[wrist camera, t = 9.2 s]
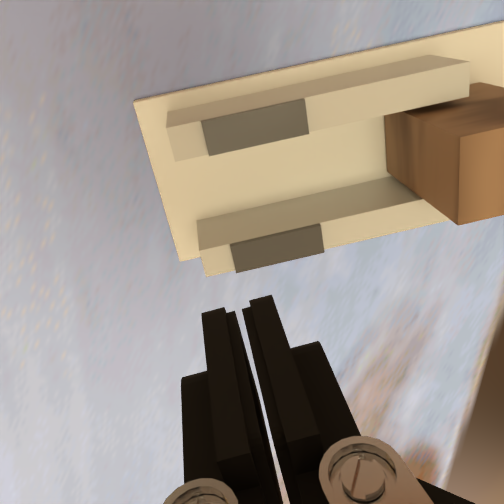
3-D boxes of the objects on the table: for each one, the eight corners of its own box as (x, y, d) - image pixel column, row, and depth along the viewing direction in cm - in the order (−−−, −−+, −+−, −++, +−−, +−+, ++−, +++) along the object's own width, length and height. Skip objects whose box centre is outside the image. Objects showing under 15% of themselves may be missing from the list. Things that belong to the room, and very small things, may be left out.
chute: (179, 255, 37) (180, 299, 31) (134, 100, 31) (125, 119, 26) (495, 182, 38) (551, 212, 32) (506, 19, 33) (575, 21, 27)
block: (387, 171, 35) (458, 225, 26) (383, 103, 33) (460, 137, 24) (477, 151, 35) (577, 197, 27) (480, 82, 33) (591, 107, 24)
